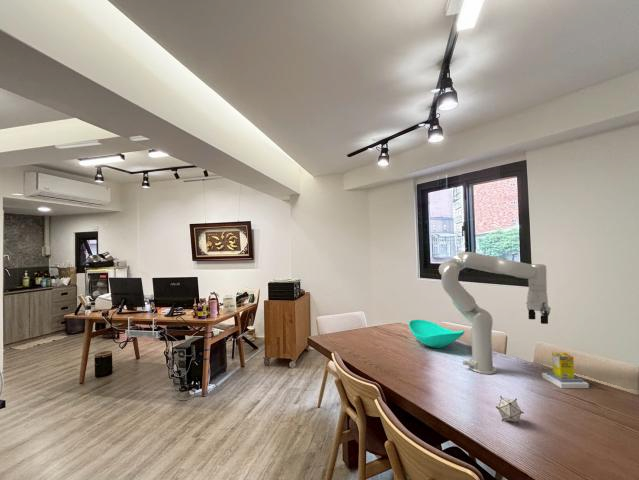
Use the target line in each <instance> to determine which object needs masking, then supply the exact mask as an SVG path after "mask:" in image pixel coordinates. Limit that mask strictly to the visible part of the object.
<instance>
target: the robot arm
mask: <svg viewBox="0 0 639 480" xmlns="http://www.w3.org/2000/svg"><path fill="white" fill-rule="evenodd" d="M466 268H468V269H472V270H473V269H474V270H478V271H483V272H487V273H493V274H496V275H497V274H499V275H507V276H512V277H515V278H520V279H526V280H528V289H527V296H526V303H525V304H526V307H527V312H528V320H536V312H539V313H540V314H541V315H540V324H542V325H548V324H549V315H550V312H551V307H550V306H549V301H548V293H547V292H548V290H547V265H546V264H542V263H531V264H530V263H526V262H521V261H515V260H510V259H506V258H503V257H497V256H491V255H488V254H487V255H486V254H482V253H479V252H472V251H463V252H459V253H458V254H456V255H454V256H453V257H451V258H449V259H447V260H444V261H443V262H441V264H440V265H439V267H438V272H439V274H440V275H441V279H440V281H441V285H442V288H443V290H444V291H445V293H446V294H447V295H448V296H449V298H450V299H451V300H452V304H453V305H454V307H455V308H456V309H457V310H458V311H459V312H460V314H462V316H464V317H465V319H467V321H468V322H470V323H471V332H470V336H471V337H470V339H471V342H470V343H471V358H470V359H469V361H467V360H464V361H462V365H463V366H467V367H469V369H470V370H471V371H473V372H475V373H479V374H483V375H493V374H495V373H497V368H496V367H495V366H494V365H493V363H494V362H493V341H492V339H493V337H492V333H493V332H492V329H493V323H494V322H493V317H492V314H491V313H490V312H488V311H487V310H486V309H484V308H482V307H480V306H479V305H478V304H477V303H476V299H475V298H474V296H473V295H471V294H470V293H469V292H468V291H467V290H466V288H464V286H462V284H461V283H460V281H459V274H460V271H462V270H464V269H466Z"/></svg>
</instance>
